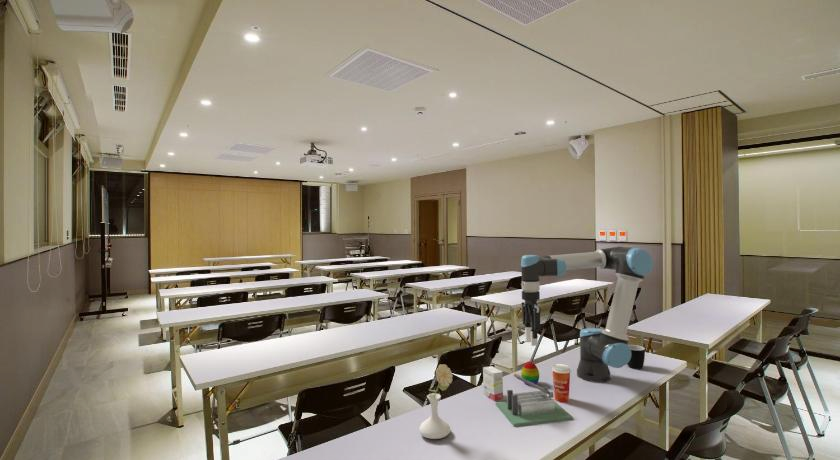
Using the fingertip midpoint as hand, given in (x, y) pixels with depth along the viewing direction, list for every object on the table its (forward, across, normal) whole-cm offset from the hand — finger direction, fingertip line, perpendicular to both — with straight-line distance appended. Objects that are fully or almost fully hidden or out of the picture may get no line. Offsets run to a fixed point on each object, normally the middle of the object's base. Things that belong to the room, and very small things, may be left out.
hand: (531, 343), depth 173 cm
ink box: (+23, -3, -17) cm, 29 cm away
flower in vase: (+23, +21, -48) cm, 57 cm away
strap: (+12, +14, -7) cm, 20 cm away
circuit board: (+23, +14, -7) cm, 28 cm away
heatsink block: (+22, +14, -7) cm, 27 cm away
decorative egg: (+23, -12, +5) cm, 26 cm away
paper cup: (+23, +7, +10) cm, 26 cm away
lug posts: (+23, +14, -16) cm, 31 cm away
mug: (+23, -19, +65) cm, 71 cm away
